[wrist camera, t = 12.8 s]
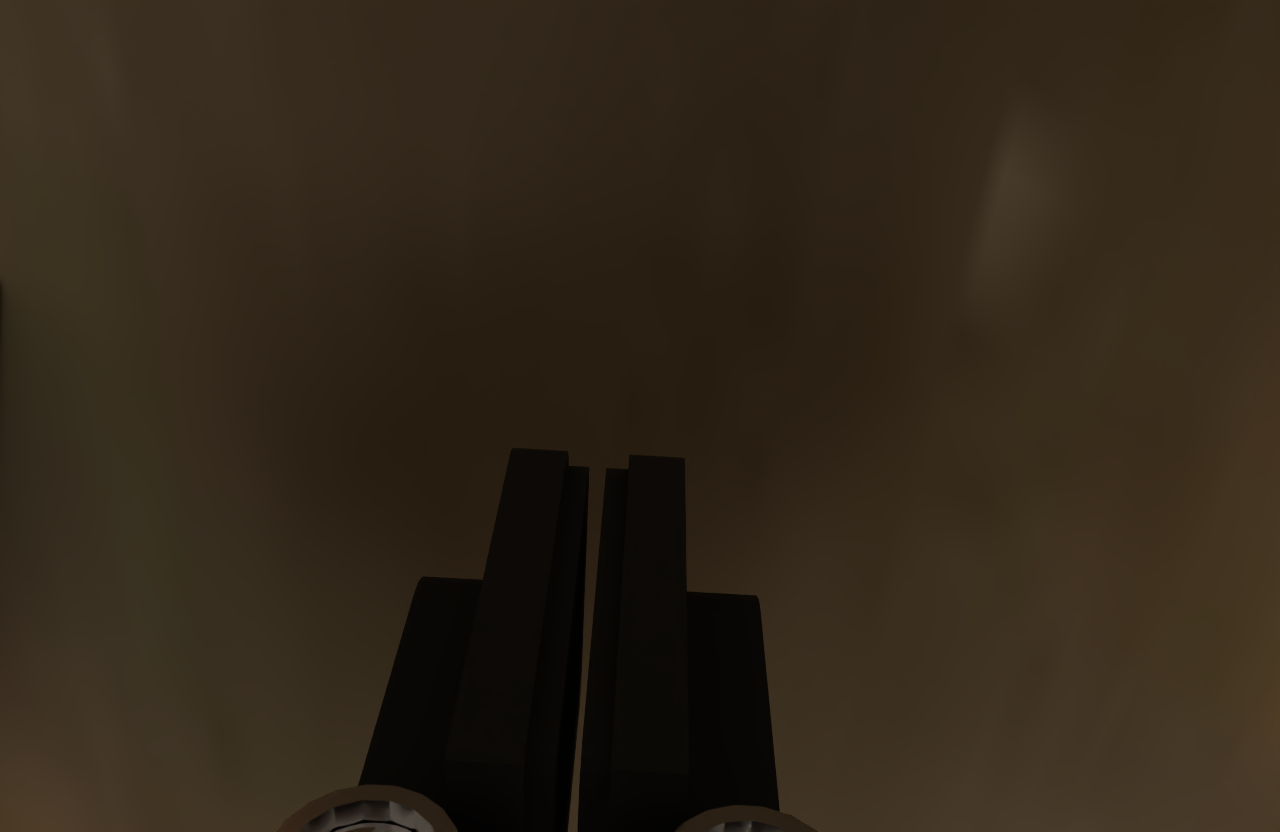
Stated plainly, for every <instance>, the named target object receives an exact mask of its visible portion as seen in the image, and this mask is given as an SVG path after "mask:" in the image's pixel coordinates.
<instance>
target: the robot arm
mask: <svg viewBox="0 0 1280 832" xmlns="http://www.w3.org/2000/svg"><path fill="white" fill-rule="evenodd" d="M568 464H569V459H568V451H556V450H539V449H521V448H513V449H512V450H511V454H510V458H509V462H508V467H507V471H506V476H505V481H504V485H503V490H502V494H501V499H500V503H499V508H498V513H497V517H496V522H495V526H494V531H493V536H492V540H491V545H490V549H489V554H488V558H487V563H486V568H485V572H484V577H483V580H475V579H458V578H440V577H422V578H421V579H420V580H419V582H418V585H417V587H416V590H415V593H414V596H413V600H412V603H411V607H410V610H409V613H408V617H407V620H406V624H405V627H404V631H403V634H402V637H401V641H400V644H399V648H398V651H397V655H396V658H395V661H394V665H393V668H392V672H391V675H390V678H389V682H388V685H387V689H386V692H385V696H384V699H383V702H382V706H381V709H380V713H379V716H378V720H377V723H376V726H375V730H374V733H373V737H372V740H371V743H370V747H369V750H368V754H367V757H366V761H365V764H364V767H363V771H362V774H361V778H360V781H359V785H358V786H356V787H351V788H345V789H340V790H336V791H334V792H332V793H329V794H327V795H325V796H323V797H320V798H318V799H316V800H313V801H311V802H309V803H308V804H306V805H305V806H304V807H302V808H301V809H300V810H299V811H297V812H296V813H295V814H293V815H292V816H291V817H289V818H288V819H287V820H285V822H284V823H283V824H282V825H281V827H280V828H279V829H278V831H277V832H568V823H569V812H570V802H571V791H572V781H573V770H574V759H575V749H576V738H577V728H578V717H579V706H580V692H581V674H582V648H583V622H584V595H585V568H586V542H587V515H588V489H589V467H577V466H568ZM578 832H818V831H816V830H815V829H813V828H811V827H810V826H808V825H807V824H805V823H803V822H802V821H800V820H798V819H797V818H795V817H793V816H792V815H788V814H785V813H782V812H780V810H779V799H778V789H777V778H776V768H775V757H774V747H773V737H772V726H771V716H770V705H769V695H768V684H767V674H766V663H765V653H764V642H763V632H762V622H761V611H760V605H759V599H758V597H757V596H755V595H737V594H720V593H702V592H687V580H686V511H685V459H684V458H677V457H659V456H642V455H629V469H612V468H607V469H606V479H605V491H604V502H603V513H602V525H601V536H600V547H599V559H598V570H597V581H596V593H595V604H594V615H593V627H592V638H591V649H590V660H589V672H588V683H587V694H586V706H585V717H584V728H583V740H582V753H581V768H580V785H579V808H578Z"/></svg>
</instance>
